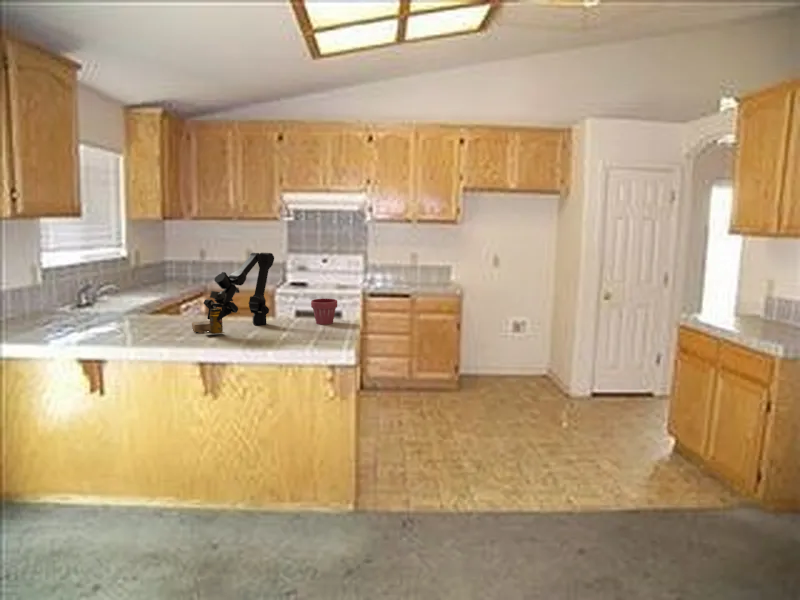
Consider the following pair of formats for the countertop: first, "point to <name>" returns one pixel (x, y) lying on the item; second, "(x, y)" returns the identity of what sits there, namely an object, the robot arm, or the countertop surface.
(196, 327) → the base block
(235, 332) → the countertop surface
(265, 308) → the robot arm
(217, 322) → the condiment
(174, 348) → the countertop surface
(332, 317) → the plant pot
